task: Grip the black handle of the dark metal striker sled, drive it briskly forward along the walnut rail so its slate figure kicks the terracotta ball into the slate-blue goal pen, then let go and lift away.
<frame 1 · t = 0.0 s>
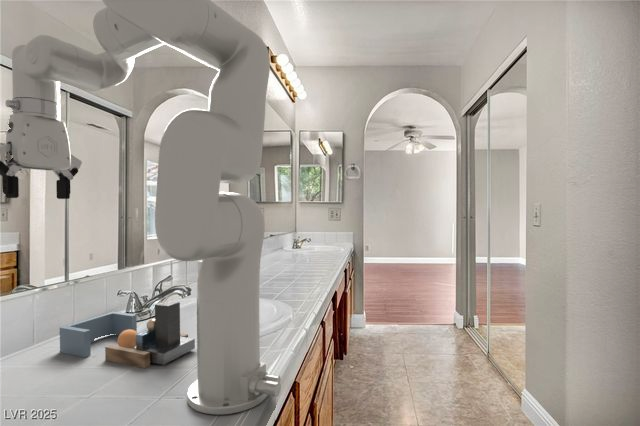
hand: (38, 198, 75), 31 cm above the counter, tool pointing down, fingers open, 9 cm apart
skincare box: (213, 314, 103), on the counter
goal: (102, 344, 80), on the counter
sled: (164, 328, 74), point 6 cm above the counter, slide at 0.0 cm
ball: (128, 339, 78), point 2 cm above the counter
rail: (148, 352, 76), on the counter
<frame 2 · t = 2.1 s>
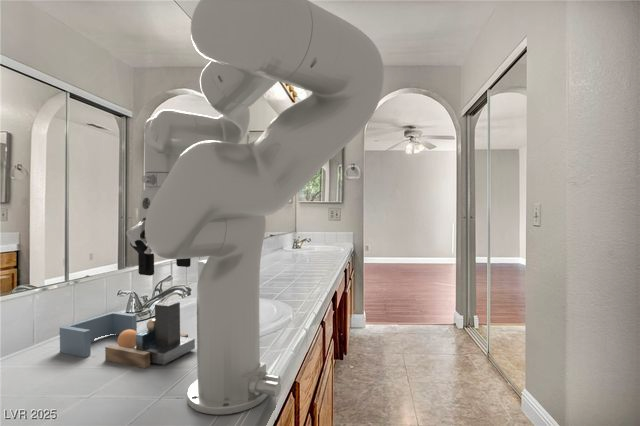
hand: (166, 270, 74), 17 cm above the counter, tool pointing down, fingers open, 9 cm apart
nothing on the counter moved.
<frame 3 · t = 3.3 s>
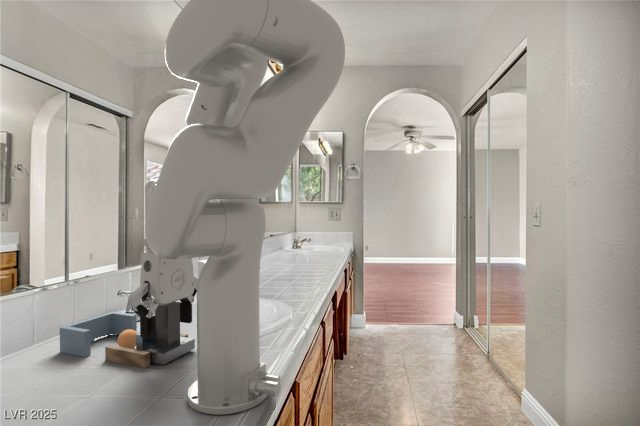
hand: (167, 329, 74), 5 cm above the counter, tool pointing down, fingers open, 9 cm apart
nothing on the counter moved.
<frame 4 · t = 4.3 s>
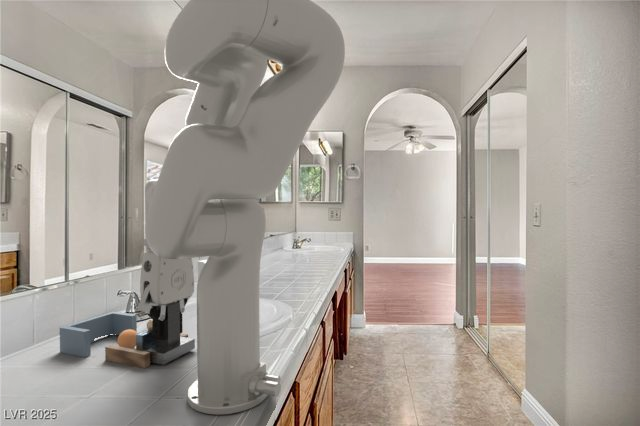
hand: (167, 335, 74), 4 cm above the counter, tool pointing down, fingers closed on sled, 3 cm apart
sled: (164, 328, 74), point 6 cm above the counter, slide at 0.0 cm, touching gripper
everything else where it was.
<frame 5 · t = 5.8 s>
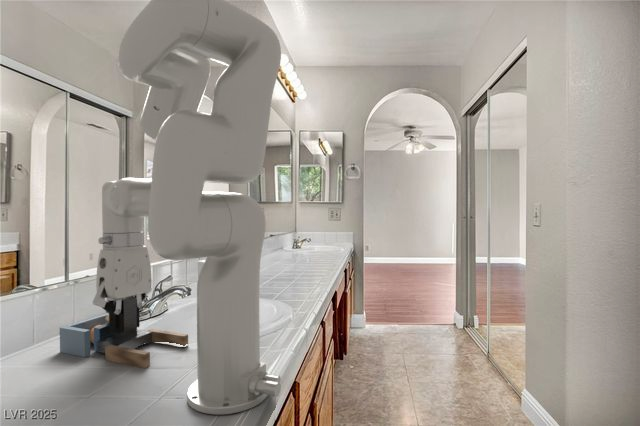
hand: (124, 328, 78), 4 cm above the counter, tool pointing down, fingers closed on sled, 3 cm apart
sled: (121, 321, 78), point 6 cm above the counter, slide at 11.4 cm, touching gripper
ball: (99, 334, 81), point 2 cm above the counter, tilted 136°
everything else where it was.
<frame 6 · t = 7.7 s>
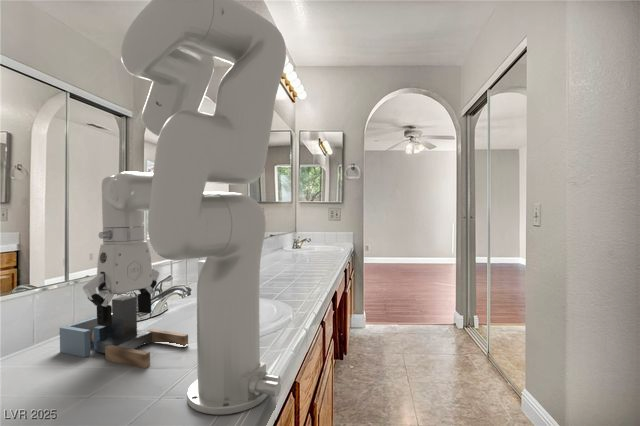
hand: (125, 318, 78), 6 cm above the counter, tool pointing down, fingers open, 9 cm apart
sled: (121, 321, 78), point 6 cm above the counter, slide at 11.5 cm
ball: (102, 335, 80), point 2 cm above the counter, tilted 158°
everything else where it was.
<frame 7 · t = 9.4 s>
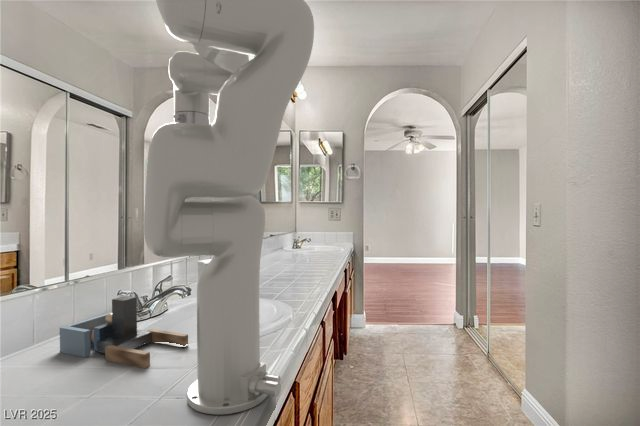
hand: (193, 200, 84), 31 cm above the counter, tool pointing down, fingers open, 9 cm apart
nothing on the counter moved.
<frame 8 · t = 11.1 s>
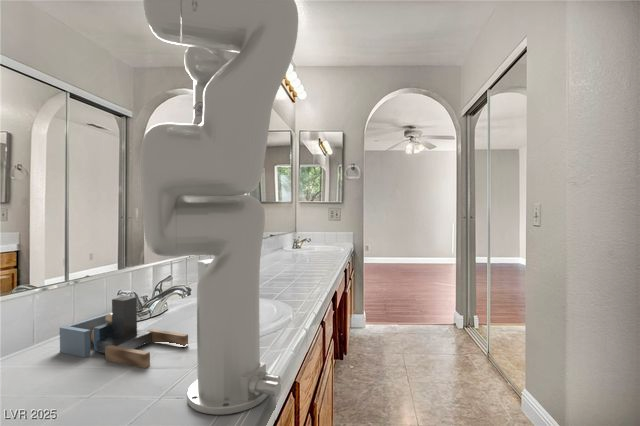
hand: (211, 189, 86), 33 cm above the counter, tool pointing down, fingers open, 9 cm apart
nothing on the counter moved.
at the end: ball inside the target area (0.3 cm from its centre), point 2.0 cm above the counter; sled slide at 11.5 cm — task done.
